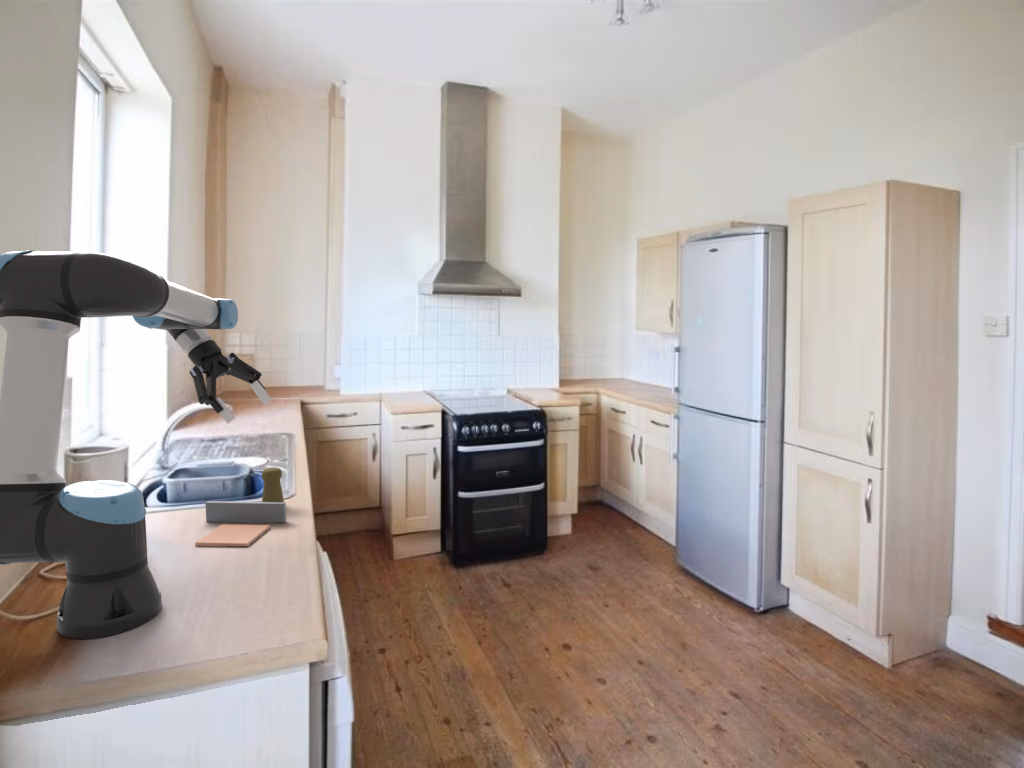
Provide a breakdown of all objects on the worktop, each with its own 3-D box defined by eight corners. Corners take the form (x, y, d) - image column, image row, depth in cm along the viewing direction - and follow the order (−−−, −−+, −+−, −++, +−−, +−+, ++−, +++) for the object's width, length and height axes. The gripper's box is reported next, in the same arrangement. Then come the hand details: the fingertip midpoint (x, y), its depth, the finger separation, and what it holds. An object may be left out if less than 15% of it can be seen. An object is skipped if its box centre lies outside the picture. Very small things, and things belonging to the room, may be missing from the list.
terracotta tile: (247, 546, 135) (247, 543, 135) (195, 545, 136) (195, 542, 136) (269, 528, 147) (269, 525, 147) (221, 527, 148) (221, 524, 147)
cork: (288, 504, 166) (287, 465, 165) (278, 511, 160) (276, 471, 159) (268, 503, 167) (266, 465, 165) (256, 510, 161) (255, 470, 159)
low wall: (284, 522, 151) (283, 503, 151) (206, 521, 152) (205, 502, 151) (286, 521, 152) (285, 502, 152) (208, 520, 153) (207, 501, 152)
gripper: (228, 342, 169) (274, 401, 171) (152, 368, 147) (206, 436, 148) (241, 327, 166) (289, 388, 167) (166, 352, 144) (222, 421, 145)
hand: (250, 411), depth 158 cm, fingers open, 13 cm apart
